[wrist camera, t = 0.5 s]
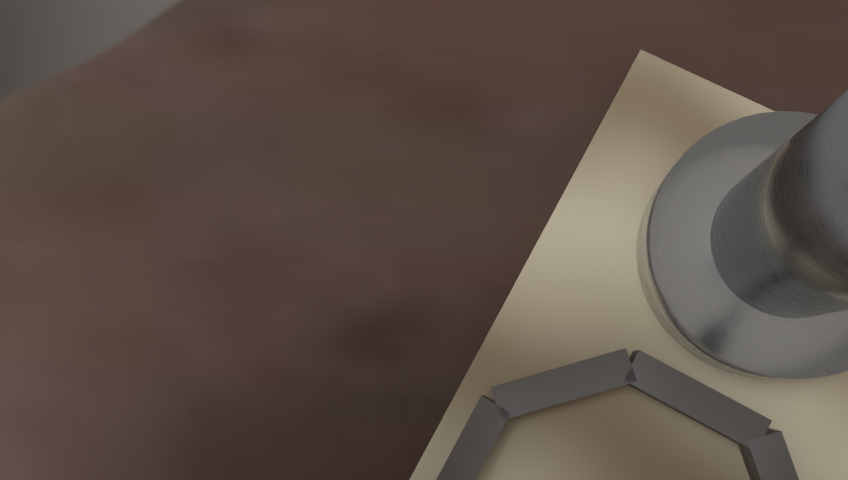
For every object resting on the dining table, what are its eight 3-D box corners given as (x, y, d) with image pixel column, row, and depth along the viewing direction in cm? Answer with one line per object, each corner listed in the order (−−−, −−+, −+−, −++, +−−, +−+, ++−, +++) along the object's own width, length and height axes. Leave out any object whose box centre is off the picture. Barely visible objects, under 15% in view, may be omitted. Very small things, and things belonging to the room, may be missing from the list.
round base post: (934, 318, 19) (1362, 263, 10) (702, 417, 20) (890, 461, 10) (814, 100, 21) (1088, -147, 11) (596, 196, 21) (670, 39, 11)
